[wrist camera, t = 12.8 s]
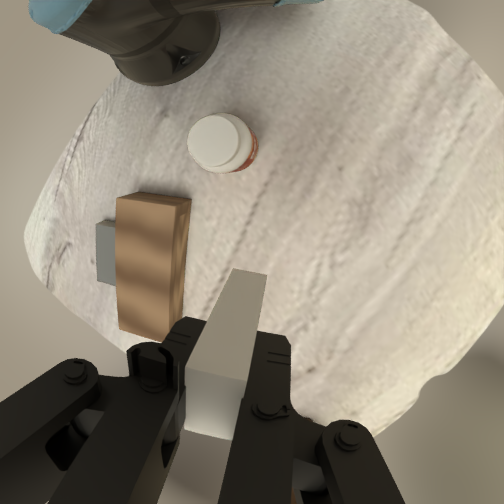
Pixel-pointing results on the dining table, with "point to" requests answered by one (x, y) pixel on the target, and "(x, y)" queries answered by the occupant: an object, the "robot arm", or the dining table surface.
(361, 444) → the robot arm
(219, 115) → the pill bottle
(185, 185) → the dining table surface
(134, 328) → the walnut arch bridge
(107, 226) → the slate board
